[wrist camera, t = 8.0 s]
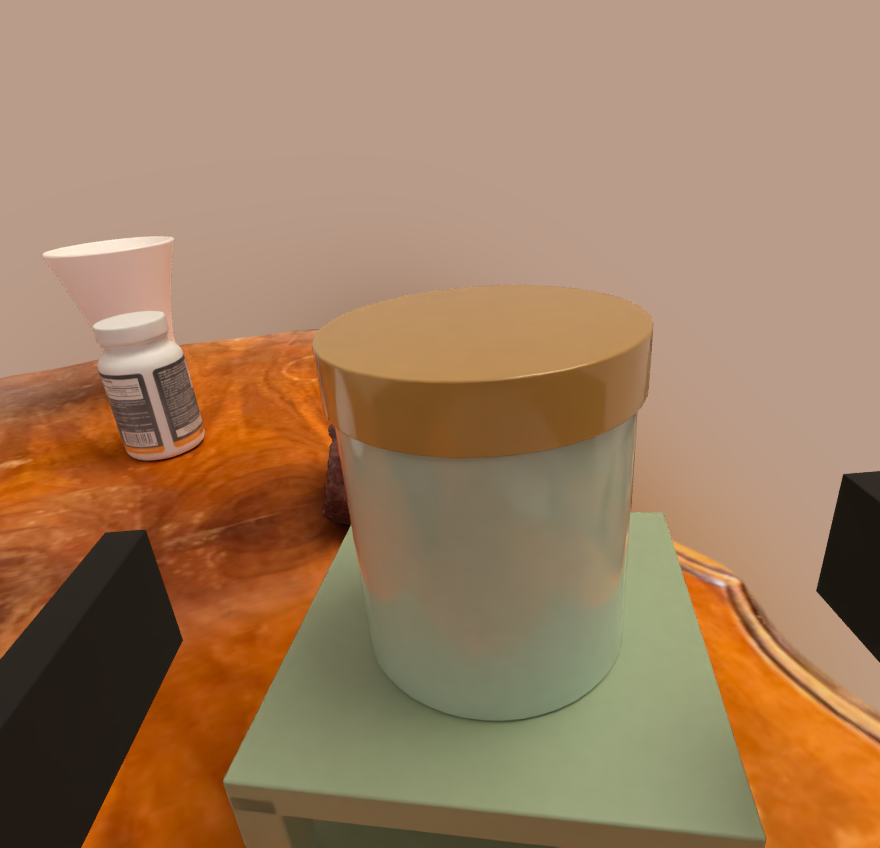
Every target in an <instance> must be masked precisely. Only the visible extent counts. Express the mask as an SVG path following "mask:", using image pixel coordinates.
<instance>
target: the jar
mask: <svg viewBox="0 0 880 848" xmlns="http://www.w3.org/2000/svg"><path fill="white" fill-rule="evenodd" d="M652 336H653V322H652V319H651V316H650V315H649V314H648V313H647V311H646V310H644V309H643V308H641V307H640V306H638V305H636V304H634V303H632V302H630V301H628V300H625V299H622V298H619V297H616V296H612V295H609V294H605V293H600V292H595V291H589V290H583V289H576V288H566V287H554V286H537V285H502V286H501V285H500V286H499V285H498V286H477V287H465V288H455V289H446V290H438V291H431V292H424V293H418V294H413V295H407V296H402V297H398V298H393V299H389V300H386V301H381V302H377V303H374V304H371V305H368V306H364V307H361V308H358V309H356V310H353V311H350V312H348V313H346V314H344V315H341V316H339V317H337V318H336V319H334V320H332V321H330V322H329V323H327V324H326V325H324V326H323V327H322V328H321V329H320V330H319V331H318V332H317V333H316V335H315V336H314V338H313V342H312V350H313V355H314V361H315V367H316V373H317V378H318V384H319V390H320V396H321V402H322V407H323V410H324V413H325V416H326V417H327V418H328V420H329V421H330V422H331V424H332V425H333V426H335V430H336V436H337V442H338V448H339V454H340V460H341V466H342V472H343V478H344V484H345V490H346V497H347V503H348V509H349V515H350V521H351V527H352V533H353V539H354V545H355V551H356V557H357V563H358V569H359V575H360V581H361V587H362V593H363V599H364V605H365V611H366V617H367V623H368V629H369V635H370V641H371V645H372V649H373V652H374V655H375V657H376V659H377V661H378V663H379V665H380V667H381V668H382V669H383V671H384V672H385V673H386V675H387V676H388V677H389V679H390V680H391V681H392V682H393V683H394V684H395V685H396V686H397V687H398V688H399V689H401V690H402V691H403V692H405V693H406V694H407V695H409V696H410V697H411V698H413V699H415V700H416V701H418V702H420V703H422V704H424V705H425V706H427V707H430V708H432V709H435V710H437V711H440V712H442V713H445V714H449V715H453V716H457V717H460V718H466V719H473V720H480V721H511V720H522V719H527V718H532V717H536V716H541V715H544V714H547V713H550V712H553V711H556V710H559V709H561V708H563V707H565V706H567V705H569V704H571V703H573V702H575V701H577V700H578V699H580V698H581V697H583V696H584V695H586V694H587V693H589V692H590V691H591V690H592V689H593V688H594V687H595V686H596V685H597V684H599V683H600V682H601V680H602V679H603V678H604V677H605V675H606V674H607V673H608V672H609V670H610V669H611V668H612V666H613V664H614V662H615V660H616V658H617V657H618V654H619V651H620V648H621V645H622V638H623V628H624V612H625V597H626V582H627V566H628V551H629V535H630V520H631V504H632V488H633V473H634V458H635V442H636V426H637V412H638V410H639V409H640V408H641V407H642V405H643V404H644V402H645V400H646V398H647V396H648V389H649V378H650V364H651V351H652Z"/></svg>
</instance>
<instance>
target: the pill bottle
mask: <svg viewBox="0 0 880 848" xmlns="http://www.w3.org/2000/svg"><path fill="white" fill-rule="evenodd" d="M168 330H169V326H168V323H167V319H166V316H165V314H164V313H163V312H160V311H141V312H133V313H127V314H122V315H117V316H114V317H110V318H107V319H104V320H101V321H99V322H97V323H95V324H94V325H93V331H94V335H95V338H96V341H97V343H98V344H100V346H101V347H103V349H104V354H103V355H102V356H101V357H100V359H99V361H98V372H99V374H100V377H101V380H102V383H103V385H104V388H105V391H106V394H107V397H108V400H109V403H110V405H111V409H112V411H113V414H114V417H115V420H116V423H117V426H118V429H119V432H120V435H121V438H122V441H123V444H124V447H125V449H126V451H127V453H128V454H129V455H130V456H131V457H133V458H135V459H139V460H160V459H167V458H170V457H174V456H177V455H180V454H182V453H184V452H187V451H189V450H191V449H193V448H194V447H196V446H197V445H198V444H199V443H200V442H201V441H202V440H203V438H204V436H205V430H204V426H203V422H202V418H201V414H200V411H199V408H198V404H197V401H196V397H195V393H194V389H193V385H192V382H191V378H190V375H189V371H188V367H187V364H186V360H185V357H184V353H183V351H182V349H181V348H180V346H179V345H178V344H176V343H175V342H173V341H170V340H169V339H168V337H167V334H168Z"/></svg>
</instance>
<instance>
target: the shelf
mask: <svg viewBox="0 0 880 848" xmlns="http://www.w3.org/2000/svg"><path fill="white" fill-rule="evenodd" d="M223 785H224V788H225V791H226V793H227V796H228V799H229V802H230V805H231V808H232V810H233V813H234V816H235V819H236V822H237V824H238V827H239V830H240V833H241V836H242V839H243V842H244V845H245V848H764V847H765V843H766V837H765V833H764V830H763V827H762V824H761V821H760V818H759V814H758V811H757V808H756V805H755V802H754V799H753V795H752V792H751V789H750V786H749V783H748V780H747V776H746V773H745V770H744V767H743V764H742V761H741V757H740V754H739V751H738V748H737V745H736V741H735V738H734V735H733V732H732V729H731V726H730V722H729V719H728V716H727V713H726V710H725V707H724V703H723V700H722V697H721V694H720V691H719V688H718V684H717V681H716V678H715V675H714V672H713V669H712V665H711V662H710V659H709V656H708V653H707V649H706V646H705V643H704V640H703V637H702V634H701V630H700V627H699V624H698V621H697V618H696V615H695V611H694V608H693V605H692V602H691V599H690V596H689V592H688V589H687V586H686V583H685V580H684V577H683V573H682V570H681V567H680V564H679V561H678V557H677V554H676V551H675V548H674V545H673V542H672V538H671V536H670V532H669V529H668V526H667V523H666V519H665V516H664V514H663V513H653V512H652V513H651V512H631V520H630V535H629V551H628V566H627V582H626V597H625V612H624V628H623V638H622V645H621V648H620V651H619V654H618V657H617V658H616V660H615V662H614V664H613V666H612V668H611V669H610V670H609V672H608V673H607V674H606V675H605V677H604V678H603V679H602V680H601V682H600V683H599V684H597V685H596V686H595V687H594V688H593V689H592V690H591V691H590V692H589V693H587V694H586V695H584V696H583V697H581V698H580V699H578V700H577V701H575V702H573V703H571V704H569V705H567V706H565V707H563V708H561V709H559V710H556V711H553V712H550V713H547V714H544V715H541V716H536V717H532V718H527V719H522V720H511V721H480V720H473V719H466V718H460V717H457V716H453V715H449V714H445V713H442V712H440V711H437V710H435V709H432V708H430V707H427V706H425V705H424V704H422V703H420V702H418V701H416V700H415V699H413V698H411V697H410V696H409V695H407V694H406V693H405V692H403V691H402V690H401V689H399V688H398V687H397V686H396V685H395V684H394V683H393V682H392V681H391V680H390V679H389V677H388V676H387V675H386V673H385V672H384V671H383V669H382V668H381V667H380V665H379V663H378V661H377V659H376V657H375V655H374V652H373V649H372V645H371V641H370V635H369V629H368V623H367V617H366V611H365V605H364V599H363V593H362V587H361V581H360V575H359V569H358V563H357V557H356V551H355V545H354V539H353V533H352V527H351V526H350V528H349V530H348V532H347V534H346V536H345V538H344V540H343V542H342V544H341V546H340V548H339V550H338V552H337V554H336V556H335V558H334V560H333V562H332V564H331V566H330V568H329V570H328V572H327V574H326V576H325V578H324V580H323V582H322V584H321V586H320V588H319V590H318V592H317V594H316V596H315V598H314V600H313V602H312V604H311V606H310V608H309V610H308V612H307V614H306V616H305V618H304V620H303V622H302V624H301V626H300V628H299V630H298V632H297V634H296V636H295V638H294V640H293V642H292V644H291V646H290V648H289V650H288V652H287V654H286V656H285V658H284V660H283V662H282V664H281V666H280V668H279V670H278V672H277V674H276V676H275V678H274V680H273V682H272V684H271V686H270V688H269V690H268V692H267V694H266V696H265V698H264V700H263V702H262V704H261V706H260V708H259V710H258V712H257V714H256V716H255V718H254V720H253V722H252V724H251V726H250V728H249V730H248V732H247V734H246V736H245V738H244V740H243V742H242V744H241V746H240V748H239V750H238V752H237V754H236V756H235V758H234V759H233V761H232V763H231V765H230V767H229V769H228V771H227V773H226V775H225V777H224V780H223Z"/></svg>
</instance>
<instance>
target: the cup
mask: <svg viewBox="0 0 880 848" xmlns="http://www.w3.org/2000/svg"><path fill="white" fill-rule="evenodd" d="M173 241H174V239H173V237H169V236H152V237H136V238H125V239H116V240H107V241H101V242H93V243H86V244H80V245H74V246H69V247H63V248H59V249H55V250H51V251H48V252H45V253H43V254H42V257H43V258H44V260H45V261H46V262H47V264H48V265H49V267H50V268H51V269H52V270H53V272H54V273H55V275H56V276H57V278H58V279H59V280H60V282H61V283H62V285H63V286H64V287H65V289H66V290H67V292H68V293H69V295H70V296H71V297H72V299H73V300H74V302H75V303H76V305H77V306H78V308H79V309H80V311H81V312H82V313H83V315H84V316H85V318H86V320H87V322H88V324H89V325H90V327H91V329H92V331H93V325H94V324H95V323H97V322H99V321H101V320H104V319H107V318H110V317H114V316H117V315H122V314H127V313H133V312H141V311H160V312H163V313H164V314H165V316H166V319H167V323H168V326H169V330H168V334H167V337H168V339H169V340H170V341H173V342H175V338H174V333H173V327H172V316H171V277H172V258H173ZM93 333H94V331H93ZM100 347H101V346H100ZM101 349H102V352H103V354H104V349H103V347H101Z"/></svg>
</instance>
